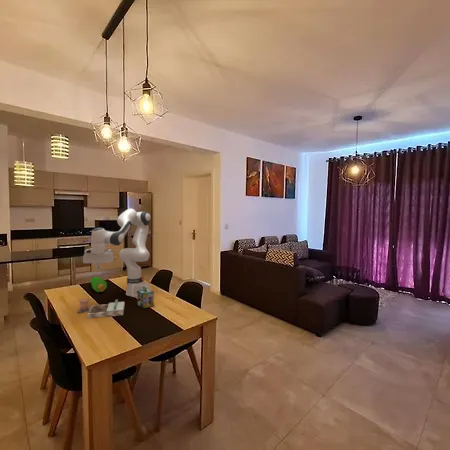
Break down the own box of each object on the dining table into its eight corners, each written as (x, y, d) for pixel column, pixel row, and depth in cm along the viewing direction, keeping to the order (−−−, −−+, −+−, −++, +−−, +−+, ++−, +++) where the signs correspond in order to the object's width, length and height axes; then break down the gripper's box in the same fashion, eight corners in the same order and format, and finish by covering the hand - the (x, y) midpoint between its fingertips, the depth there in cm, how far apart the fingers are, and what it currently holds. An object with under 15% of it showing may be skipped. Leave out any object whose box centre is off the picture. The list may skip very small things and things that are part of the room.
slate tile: (90, 308, 194) (90, 307, 194) (88, 312, 187) (88, 311, 187) (80, 309, 192) (80, 308, 192) (77, 312, 185) (77, 312, 185)
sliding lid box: (124, 307, 197) (124, 302, 197) (123, 315, 183) (122, 311, 182) (92, 310, 190) (91, 305, 190) (87, 319, 176) (87, 314, 176)
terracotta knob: (89, 307, 193) (89, 298, 193) (88, 310, 188) (88, 301, 187) (80, 308, 191) (80, 299, 191) (79, 311, 186) (78, 302, 185)
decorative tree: (98, 280, 220) (89, 271, 243) (93, 293, 218) (84, 283, 241) (111, 283, 227) (102, 274, 250) (106, 296, 226) (97, 285, 248)
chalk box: (154, 305, 202) (154, 287, 200) (142, 309, 195) (142, 289, 194) (148, 302, 208) (148, 284, 207) (137, 305, 202) (137, 286, 201)
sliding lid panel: (124, 302, 196) (124, 298, 196) (122, 310, 182) (122, 306, 182) (109, 303, 193) (109, 299, 193) (106, 311, 179) (106, 307, 179)
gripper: (114, 248, 198) (114, 267, 199) (83, 249, 192) (84, 268, 193) (113, 250, 192) (113, 269, 193) (82, 251, 186) (82, 270, 187)
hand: (98, 268), depth 193 cm, fingers closed
